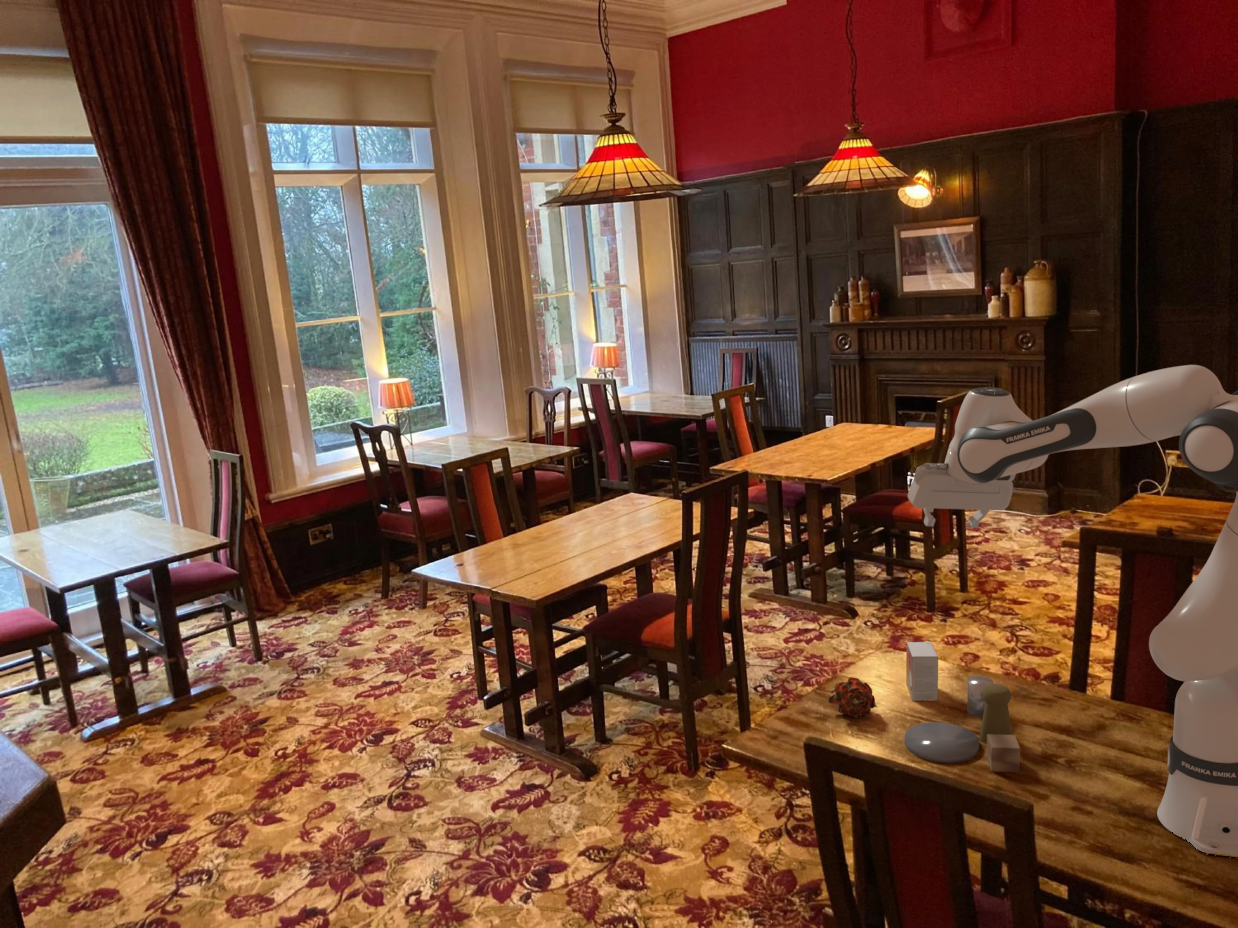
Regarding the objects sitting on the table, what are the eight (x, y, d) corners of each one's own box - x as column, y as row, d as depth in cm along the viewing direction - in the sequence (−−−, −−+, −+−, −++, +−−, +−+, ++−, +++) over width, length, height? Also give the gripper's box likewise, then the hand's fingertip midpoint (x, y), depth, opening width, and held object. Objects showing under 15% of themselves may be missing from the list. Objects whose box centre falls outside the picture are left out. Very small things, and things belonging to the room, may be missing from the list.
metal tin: (994, 708, 205) (995, 678, 203) (990, 718, 201) (990, 687, 199) (969, 704, 207) (970, 674, 206) (964, 714, 203) (965, 683, 202)
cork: (1007, 729, 196) (1008, 679, 193) (1016, 744, 190) (1017, 693, 188) (976, 730, 196) (977, 680, 194) (984, 745, 191) (985, 693, 188)
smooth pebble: (985, 735, 194) (985, 730, 194) (970, 768, 183) (970, 763, 182) (914, 722, 201) (914, 716, 201) (896, 753, 190) (896, 747, 189)
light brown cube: (1014, 758, 185) (1014, 734, 184) (1019, 772, 180) (1020, 748, 179) (986, 757, 186) (987, 734, 185) (991, 771, 181) (991, 747, 180)
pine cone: (866, 734, 201) (837, 717, 212) (893, 704, 202) (863, 689, 214) (841, 707, 199) (814, 691, 211) (869, 677, 201) (840, 663, 212)
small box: (906, 684, 218) (905, 641, 216) (931, 684, 217) (931, 641, 215) (911, 701, 211) (911, 656, 208) (938, 701, 210) (938, 656, 208)
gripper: (924, 470, 185) (907, 532, 191) (1023, 474, 188) (1003, 534, 194) (912, 455, 190) (895, 516, 197) (1008, 459, 193) (989, 518, 200)
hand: (950, 525), depth 195 cm, fingers open, 8 cm apart
